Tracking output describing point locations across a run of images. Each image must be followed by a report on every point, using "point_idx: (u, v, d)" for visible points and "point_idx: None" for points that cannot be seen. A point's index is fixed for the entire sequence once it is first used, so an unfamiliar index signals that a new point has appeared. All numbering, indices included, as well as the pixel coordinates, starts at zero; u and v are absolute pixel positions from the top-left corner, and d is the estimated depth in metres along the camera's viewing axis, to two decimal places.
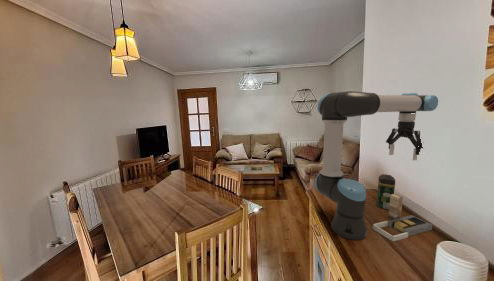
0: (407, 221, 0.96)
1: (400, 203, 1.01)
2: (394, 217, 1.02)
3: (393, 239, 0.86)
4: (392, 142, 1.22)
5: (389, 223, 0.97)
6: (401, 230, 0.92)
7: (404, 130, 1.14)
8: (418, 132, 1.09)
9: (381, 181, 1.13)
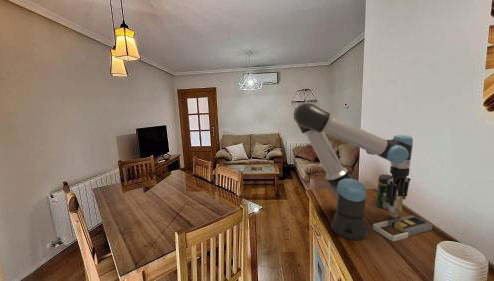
0: (407, 221, 0.96)
1: (400, 203, 1.01)
2: (394, 217, 1.02)
3: (393, 239, 0.86)
4: (399, 194, 1.03)
5: (389, 223, 0.97)
6: (401, 230, 0.92)
7: None
8: (388, 183, 0.99)
9: (381, 181, 1.13)
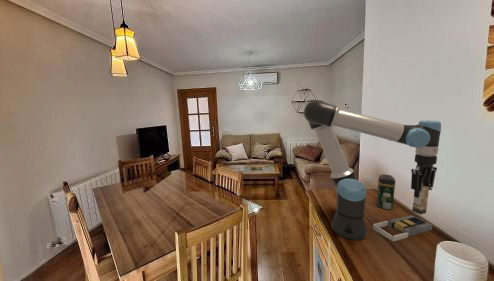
0: (407, 221, 0.96)
1: (426, 194, 0.93)
2: (419, 209, 0.94)
3: (393, 239, 0.86)
4: (424, 184, 0.95)
5: (389, 223, 0.97)
6: (401, 230, 0.92)
7: None
8: (414, 172, 0.91)
9: (381, 181, 1.13)
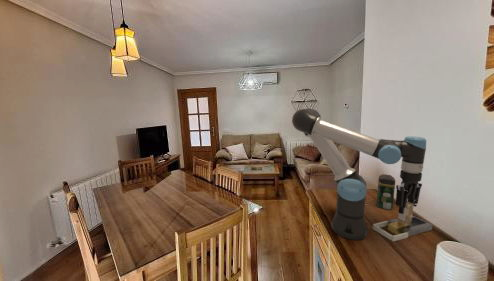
0: (398, 223, 0.94)
1: (411, 211, 0.92)
2: None
3: (393, 239, 0.86)
4: (409, 200, 0.94)
5: (389, 223, 0.97)
6: (395, 232, 0.91)
7: None
8: (398, 188, 0.90)
9: (381, 181, 1.13)
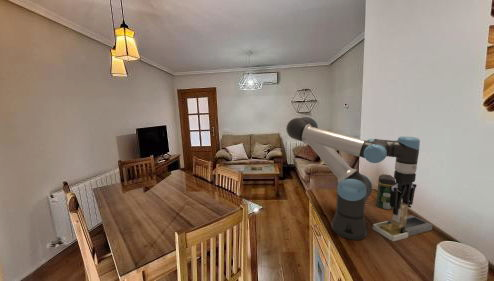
0: (392, 225, 0.93)
1: (405, 212, 0.91)
2: None
3: (393, 239, 0.86)
4: (403, 201, 0.93)
5: (389, 223, 0.97)
6: None
7: None
8: (392, 189, 0.89)
9: (381, 181, 1.13)
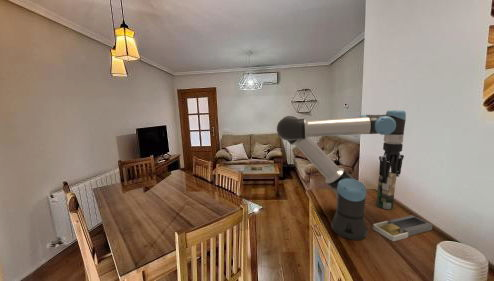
0: (392, 225, 0.93)
1: (393, 180, 0.98)
2: (387, 195, 0.99)
3: (393, 239, 0.86)
4: (392, 171, 1.00)
5: (389, 223, 0.97)
6: None
7: None
8: (381, 159, 0.96)
9: (381, 181, 1.13)
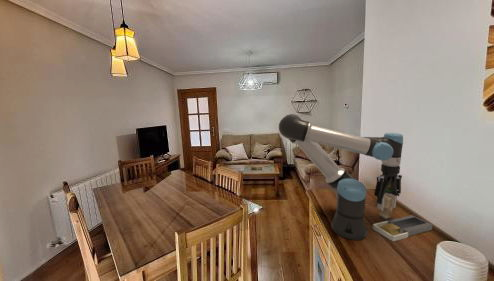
0: (392, 225, 0.93)
1: (391, 204, 1.00)
2: (385, 218, 1.01)
3: (393, 239, 0.86)
4: (392, 191, 1.02)
5: (389, 223, 0.97)
6: None
7: None
8: (378, 179, 0.98)
9: None
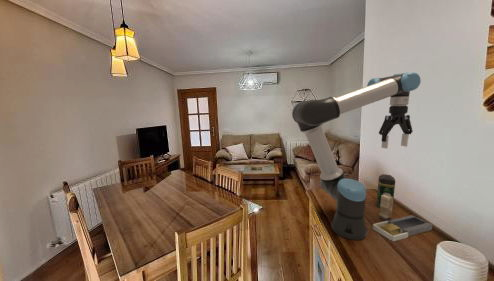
0: (392, 225, 0.93)
1: (391, 204, 1.00)
2: (385, 218, 1.01)
3: (393, 239, 0.86)
4: (404, 131, 1.05)
5: (389, 223, 0.97)
6: None
7: None
8: (387, 117, 1.00)
9: (381, 181, 1.13)
